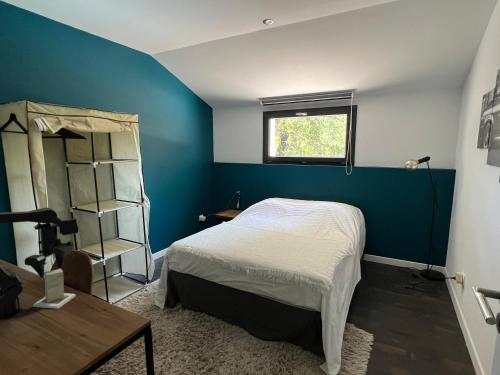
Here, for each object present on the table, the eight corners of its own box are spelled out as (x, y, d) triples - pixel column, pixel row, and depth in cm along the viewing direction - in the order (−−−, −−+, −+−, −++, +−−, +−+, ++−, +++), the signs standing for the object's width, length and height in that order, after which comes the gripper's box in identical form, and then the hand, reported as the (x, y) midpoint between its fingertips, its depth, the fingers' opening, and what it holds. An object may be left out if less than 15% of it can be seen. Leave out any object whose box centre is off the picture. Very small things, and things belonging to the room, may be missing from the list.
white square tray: (57, 308, 112) (57, 305, 112) (33, 306, 113) (33, 303, 113) (75, 296, 122) (75, 293, 122) (53, 294, 123) (52, 291, 123)
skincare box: (47, 303, 113) (45, 275, 112) (45, 298, 117) (43, 272, 115) (64, 297, 118) (63, 271, 116) (62, 293, 121) (61, 268, 119)
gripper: (48, 246, 104) (50, 284, 106) (82, 232, 122) (84, 265, 124) (21, 244, 105) (24, 282, 107) (60, 231, 123) (62, 263, 125)
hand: (51, 272), depth 116 cm, fingers open, 9 cm apart
